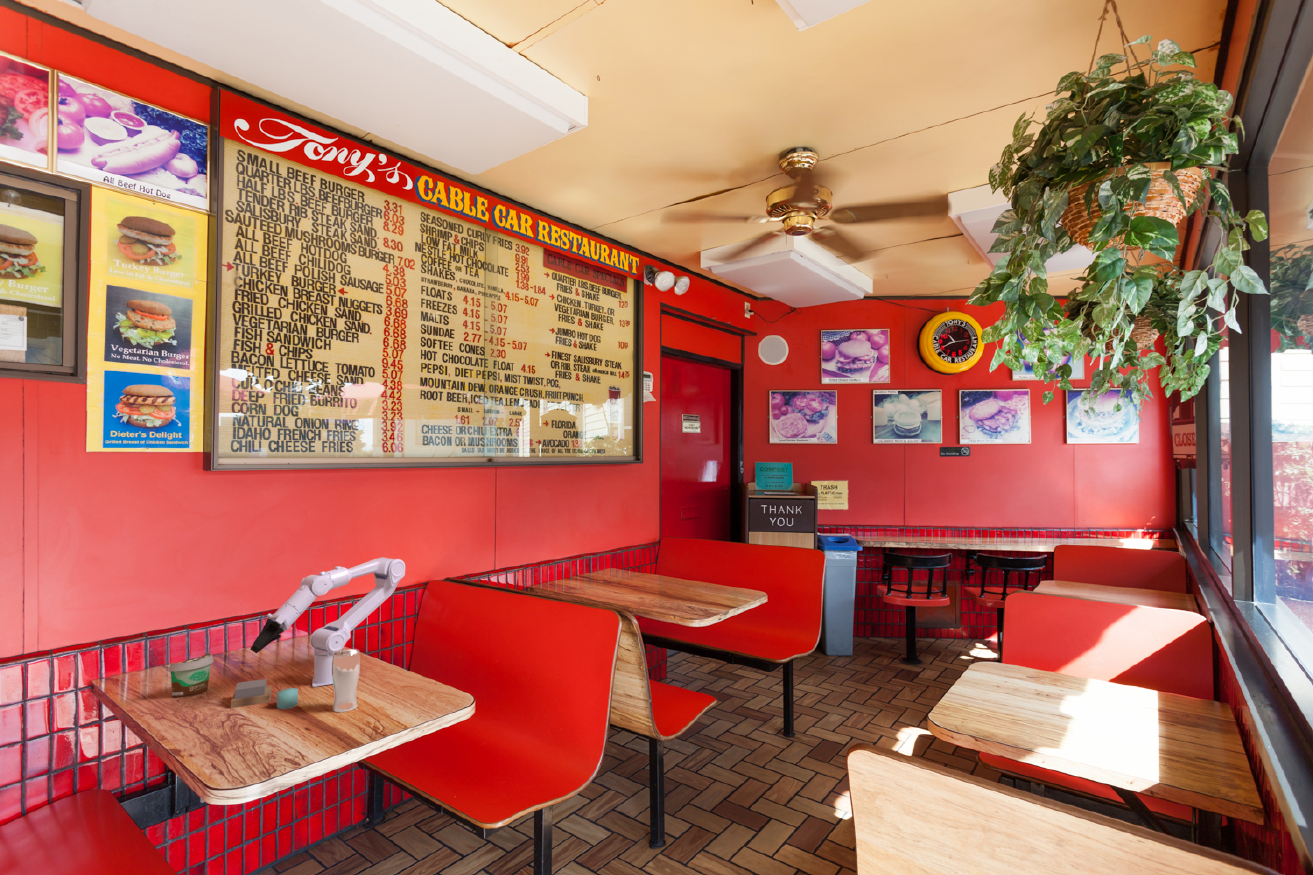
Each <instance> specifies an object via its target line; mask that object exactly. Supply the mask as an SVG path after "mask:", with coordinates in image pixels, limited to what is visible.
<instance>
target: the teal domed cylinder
mask: <svg viewBox="0 0 1313 875" xmlns="http://www.w3.org/2000/svg"><path fill="white" fill-rule="evenodd" d="M298 699H299V689H298V688H296V687H295V688H294V687H290V688H289V687H288V688H283V689H281V690H278V691H277V693H276V709H278V710H288V709H291V708H294V707H296V705H297V704H298V703H299V700H298ZM297 706H298V705H297Z"/></svg>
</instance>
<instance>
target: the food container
mask: <svg viewBox="0 0 1313 875" xmlns="http://www.w3.org/2000/svg"><path fill="white" fill-rule="evenodd" d="M213 656H214V655H212V652H209V651H208V652H207V651H205V653H204V655H202V656H200V657H195V658H190V659H189V658H188V659H187V660H185V661H183V662H180V663H178V662H177V663H171V662H170V665H169V666H168V672H170V682H171V696H172V699H178V698H179V699H180V698H182V697H183V698H189V697H188V696H190V697H193V696H194V697H195V696H197V695H201V694H203V693H205V692H207V691H208V688H209V680H210V673H211V667H212V666H211V665H212V664H213V663H214V662H215V661H214V657H213Z"/></svg>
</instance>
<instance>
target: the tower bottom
mask: <svg viewBox="0 0 1313 875" xmlns="http://www.w3.org/2000/svg"><path fill="white" fill-rule="evenodd" d="M272 687H273V686H272V685H269V686H267V685H266V691H265V695H261V696H254V697H247V698H240V699H235V691H234V693H233V695H232V698H231V700H230V709H234V708H241V707H242V708H243V707H247V706H254V705H255V706H256V705H261V703H262V704H268V703H270V701H271V696H272V690H273V689H272Z"/></svg>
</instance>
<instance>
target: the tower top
mask: <svg viewBox="0 0 1313 875" xmlns="http://www.w3.org/2000/svg"><path fill="white" fill-rule="evenodd" d="M267 680H268V679H267V678H262V679H256V680H248V681H247V680H246V681H242V682H237V684H236V686H235V688H234V692H235V699H240V698H247V697H254V696H261V695H265V691H266V687H267Z"/></svg>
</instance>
